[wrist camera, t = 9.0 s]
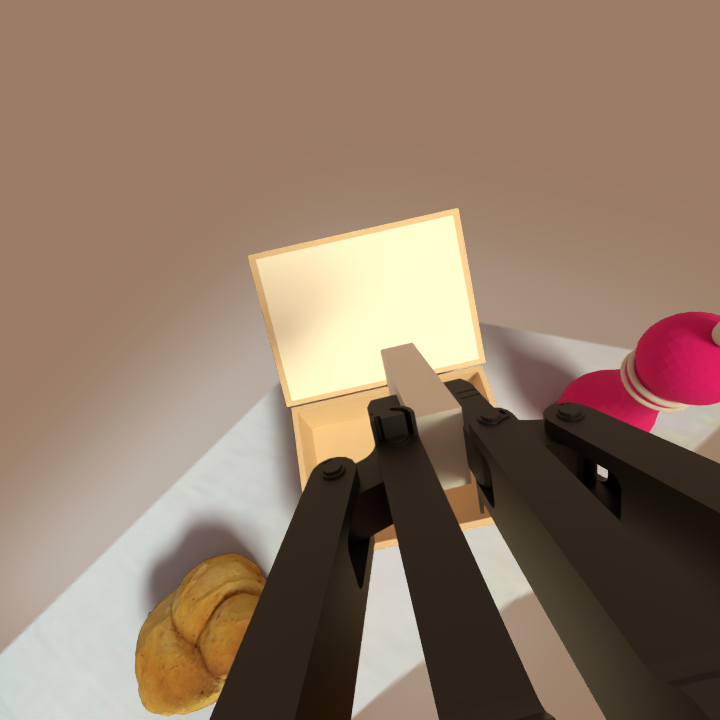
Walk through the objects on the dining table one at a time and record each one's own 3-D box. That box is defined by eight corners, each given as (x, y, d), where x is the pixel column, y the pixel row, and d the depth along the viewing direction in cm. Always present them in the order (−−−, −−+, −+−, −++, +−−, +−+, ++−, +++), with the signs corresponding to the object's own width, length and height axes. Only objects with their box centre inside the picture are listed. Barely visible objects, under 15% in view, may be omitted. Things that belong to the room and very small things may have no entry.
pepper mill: (586, 474, 36) (771, 416, 18) (530, 416, 39) (643, 317, 21) (637, 430, 38) (858, 335, 20) (579, 377, 40) (725, 251, 22)
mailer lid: (247, 255, 32) (249, 256, 33) (286, 407, 34) (287, 405, 35) (458, 207, 32) (456, 209, 33) (486, 362, 34) (483, 361, 35)
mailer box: (327, 559, 35) (311, 565, 29) (307, 427, 41) (291, 407, 35) (513, 517, 35) (537, 513, 29) (468, 390, 41) (481, 364, 35)
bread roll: (174, 735, 31) (106, 796, 24) (135, 618, 35) (67, 641, 28) (305, 631, 33) (279, 658, 26) (255, 532, 37) (220, 532, 30)
